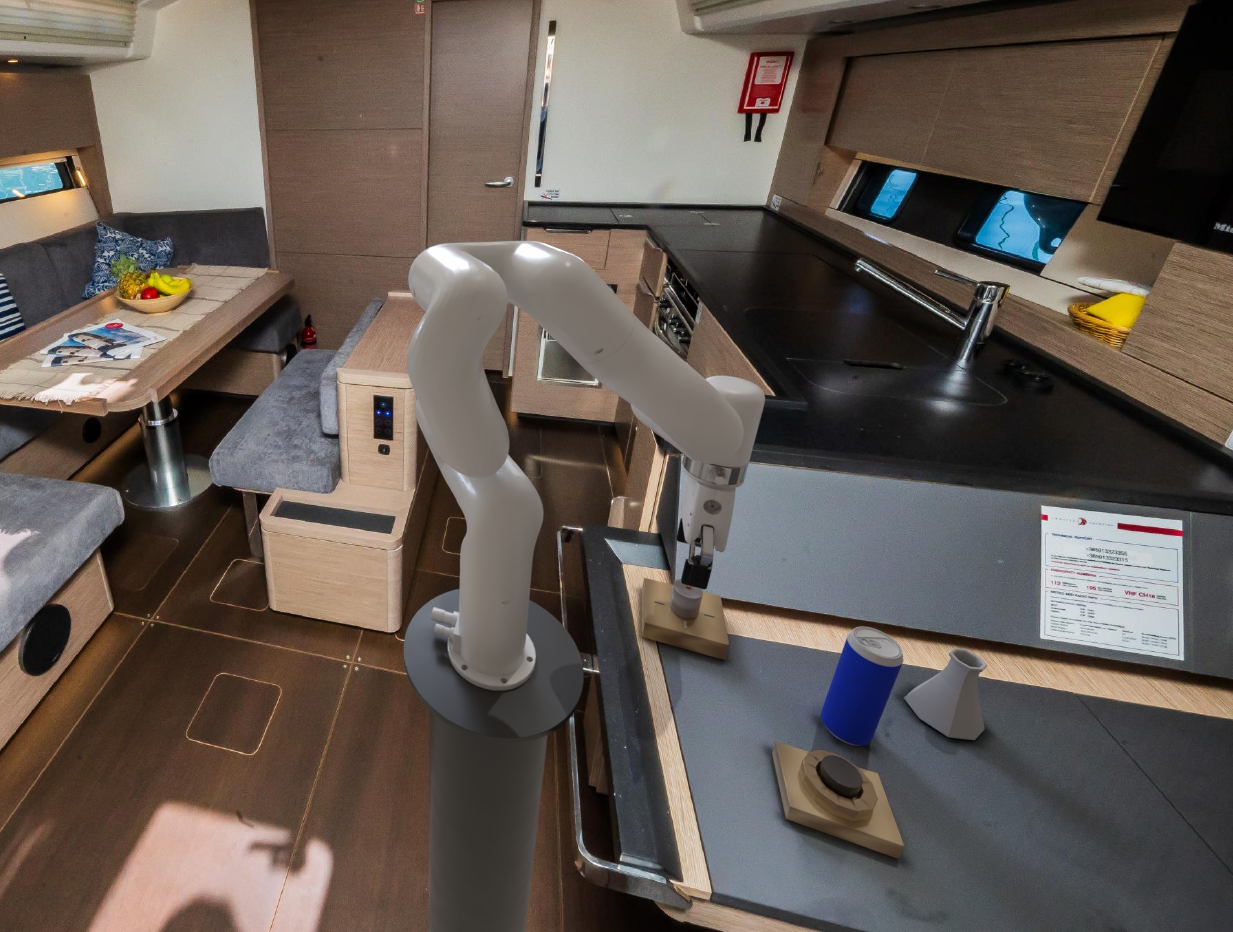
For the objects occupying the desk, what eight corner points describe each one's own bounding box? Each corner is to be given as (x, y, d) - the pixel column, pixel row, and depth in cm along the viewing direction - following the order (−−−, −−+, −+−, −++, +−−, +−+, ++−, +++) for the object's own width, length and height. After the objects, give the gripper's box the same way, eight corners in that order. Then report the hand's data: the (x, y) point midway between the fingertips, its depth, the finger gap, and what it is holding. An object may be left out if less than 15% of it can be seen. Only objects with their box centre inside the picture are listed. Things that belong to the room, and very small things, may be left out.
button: (823, 790, 66) (826, 780, 65) (814, 760, 69) (818, 750, 68) (863, 804, 64) (867, 793, 64) (853, 772, 67) (857, 762, 67)
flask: (949, 747, 73) (976, 689, 69) (890, 694, 79) (913, 639, 76) (998, 736, 74) (1028, 679, 70) (936, 685, 80) (960, 630, 77)
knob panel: (642, 637, 90) (644, 621, 89) (641, 591, 98) (644, 576, 97) (725, 660, 85) (729, 644, 84) (717, 610, 94) (721, 595, 93)
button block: (785, 819, 66) (793, 796, 65) (771, 753, 73) (778, 731, 72) (898, 859, 62) (910, 836, 61) (873, 785, 69) (882, 763, 68)
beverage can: (856, 714, 77) (889, 628, 72) (879, 753, 72) (916, 664, 67) (811, 707, 78) (840, 621, 73) (831, 744, 74) (863, 656, 68)
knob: (695, 623, 88) (700, 601, 86) (666, 610, 90) (670, 589, 89) (700, 606, 91) (705, 584, 89) (672, 595, 93) (676, 573, 92)
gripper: (757, 505, 72) (727, 612, 78) (736, 440, 87) (712, 534, 93) (688, 492, 75) (665, 596, 81) (679, 430, 90) (659, 522, 96)
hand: (690, 563), depth 87 cm, fingers open, 9 cm apart
